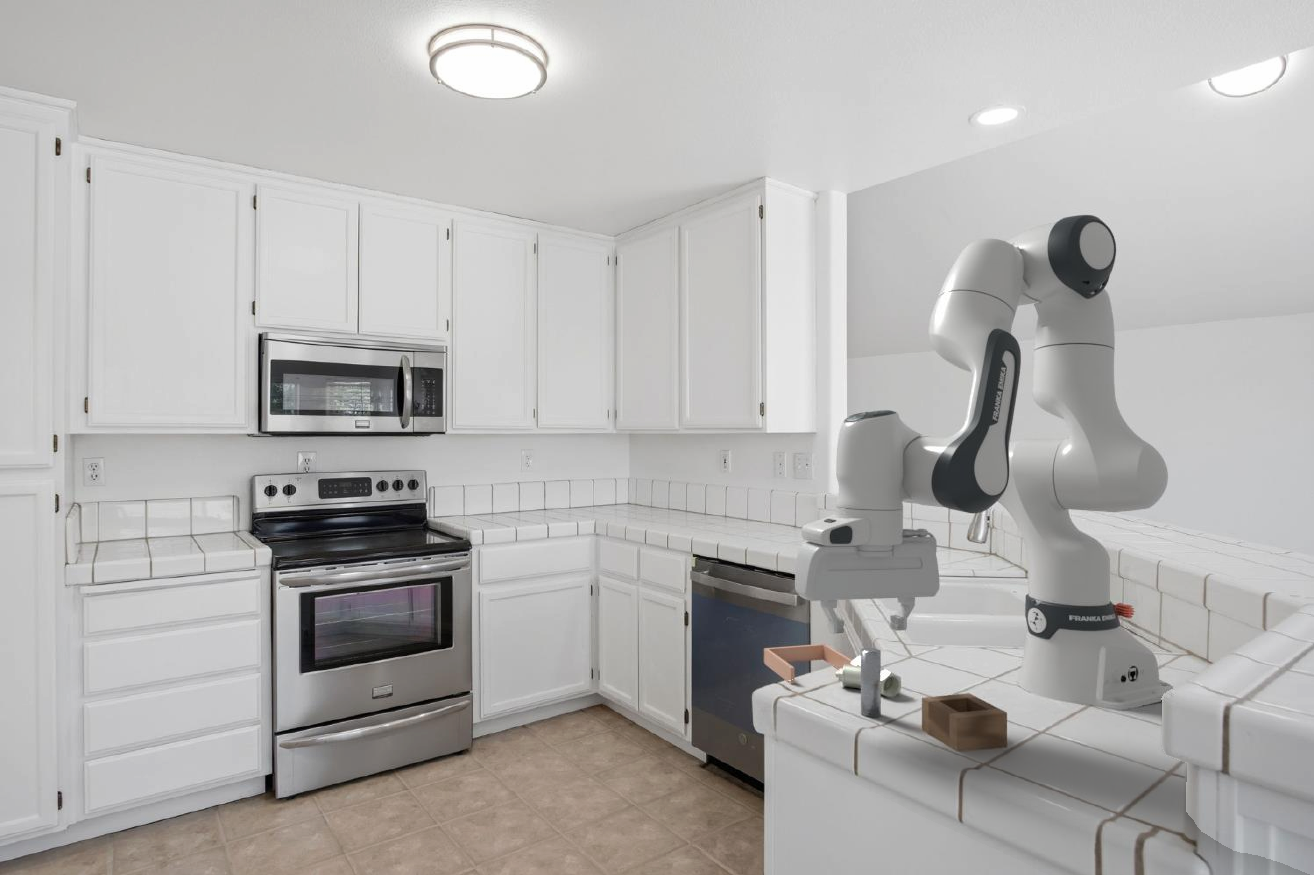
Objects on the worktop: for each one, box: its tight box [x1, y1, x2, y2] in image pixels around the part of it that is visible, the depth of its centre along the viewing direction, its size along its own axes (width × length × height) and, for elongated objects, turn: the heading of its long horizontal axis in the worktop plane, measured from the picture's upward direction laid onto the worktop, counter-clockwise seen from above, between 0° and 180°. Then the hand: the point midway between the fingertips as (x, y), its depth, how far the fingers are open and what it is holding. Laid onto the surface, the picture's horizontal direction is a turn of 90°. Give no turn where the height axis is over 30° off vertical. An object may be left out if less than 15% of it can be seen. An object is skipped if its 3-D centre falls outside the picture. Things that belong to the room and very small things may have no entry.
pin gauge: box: [860, 647, 882, 719], centre depth 98 cm, size 3×3×9 cm
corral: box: [763, 643, 854, 685], centre depth 118 cm, size 11×11×2 cm
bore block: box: [921, 692, 1008, 752], centre depth 90 cm, size 7×7×4 cm
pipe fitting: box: [835, 655, 902, 698], centre depth 109 cm, size 8×4×7 cm
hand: (867, 631), depth 98 cm, fingers open, 8 cm apart
